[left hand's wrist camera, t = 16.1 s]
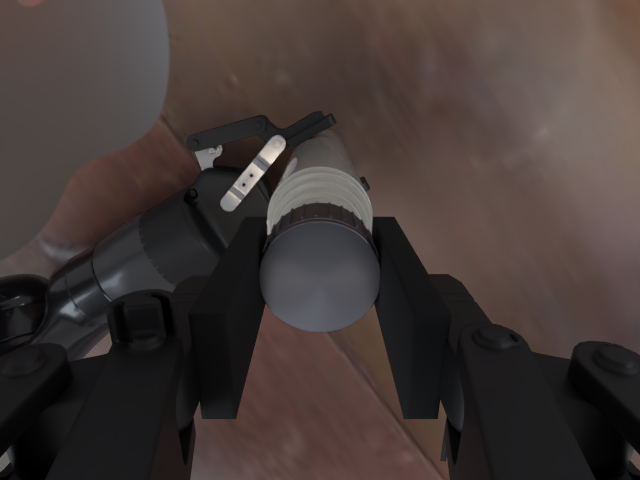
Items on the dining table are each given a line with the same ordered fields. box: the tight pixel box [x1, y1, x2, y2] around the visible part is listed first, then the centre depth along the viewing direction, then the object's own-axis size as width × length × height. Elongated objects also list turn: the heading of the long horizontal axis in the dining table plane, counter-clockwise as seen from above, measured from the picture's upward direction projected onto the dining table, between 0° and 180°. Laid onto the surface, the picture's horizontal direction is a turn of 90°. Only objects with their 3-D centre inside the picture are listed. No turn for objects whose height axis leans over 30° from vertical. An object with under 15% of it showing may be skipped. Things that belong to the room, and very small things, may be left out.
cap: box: [259, 201, 381, 332], centre depth 13 cm, size 4×4×2 cm
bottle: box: [267, 129, 373, 234], centre depth 25 cm, size 5×5×25 cm
